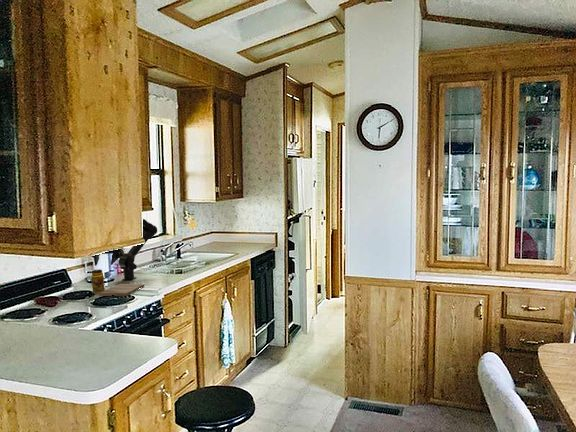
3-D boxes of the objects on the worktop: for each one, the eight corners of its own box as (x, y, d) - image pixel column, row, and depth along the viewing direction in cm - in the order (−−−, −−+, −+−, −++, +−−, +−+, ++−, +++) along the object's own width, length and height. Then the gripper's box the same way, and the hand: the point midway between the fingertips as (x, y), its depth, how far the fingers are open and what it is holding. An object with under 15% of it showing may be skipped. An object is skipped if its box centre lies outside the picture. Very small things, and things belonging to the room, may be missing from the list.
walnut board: (118, 286, 288) (117, 284, 288) (144, 286, 285) (144, 284, 285) (98, 295, 268) (98, 293, 268) (126, 295, 266) (126, 293, 265)
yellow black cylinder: (97, 293, 273) (96, 272, 272) (87, 292, 277) (85, 270, 276) (108, 290, 279) (106, 269, 278) (98, 289, 284) (96, 268, 282)
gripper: (87, 235, 289) (81, 258, 279) (119, 233, 287) (113, 256, 278) (95, 245, 297) (89, 268, 288) (126, 243, 296) (121, 267, 287)
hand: (103, 265), depth 285 cm, fingers open, 9 cm apart
